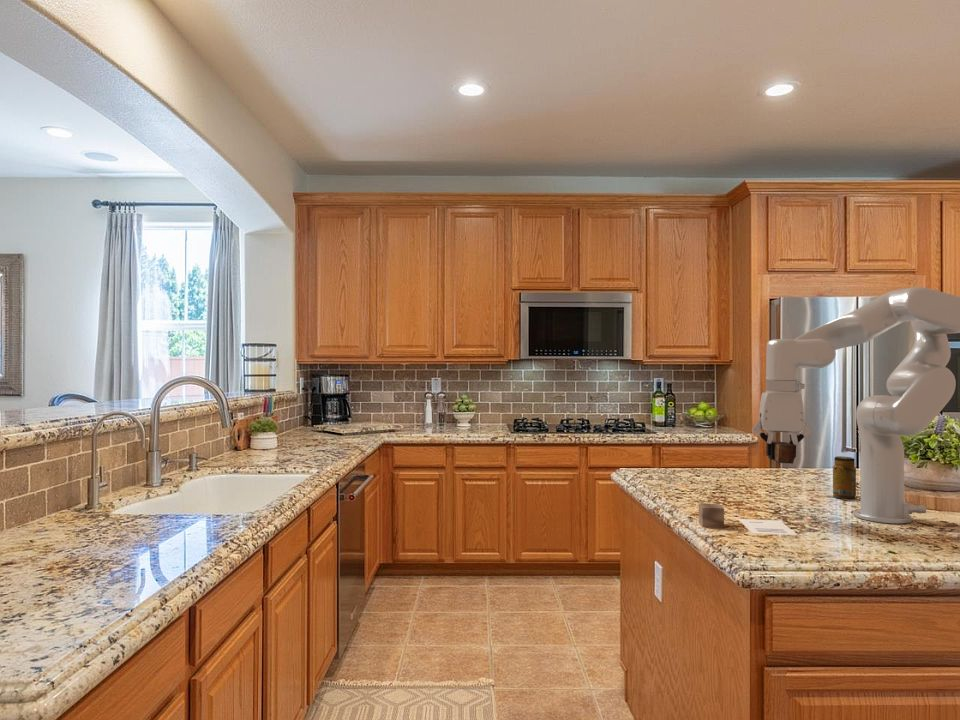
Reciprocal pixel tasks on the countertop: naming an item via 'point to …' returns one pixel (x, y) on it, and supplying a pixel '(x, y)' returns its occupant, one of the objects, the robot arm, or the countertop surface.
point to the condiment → (844, 479)
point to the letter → (766, 527)
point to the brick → (784, 452)
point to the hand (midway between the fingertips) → (780, 458)
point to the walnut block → (711, 515)
